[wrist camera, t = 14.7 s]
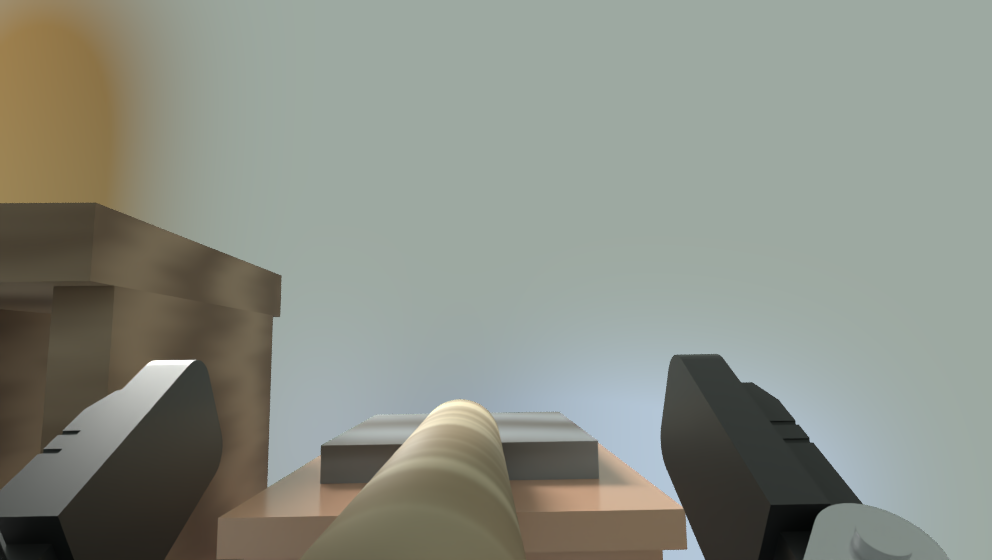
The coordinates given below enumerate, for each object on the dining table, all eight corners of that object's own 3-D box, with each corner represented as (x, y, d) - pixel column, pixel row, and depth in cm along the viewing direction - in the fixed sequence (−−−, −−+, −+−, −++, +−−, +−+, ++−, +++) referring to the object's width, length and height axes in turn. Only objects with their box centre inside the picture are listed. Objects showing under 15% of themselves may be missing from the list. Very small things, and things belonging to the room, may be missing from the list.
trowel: (896, 796, 5) (870, 500, 6) (-115, 826, 5) (-82, 518, 6) (559, 436, 29) (558, 383, 30) (375, 439, 29) (376, 385, 29)
